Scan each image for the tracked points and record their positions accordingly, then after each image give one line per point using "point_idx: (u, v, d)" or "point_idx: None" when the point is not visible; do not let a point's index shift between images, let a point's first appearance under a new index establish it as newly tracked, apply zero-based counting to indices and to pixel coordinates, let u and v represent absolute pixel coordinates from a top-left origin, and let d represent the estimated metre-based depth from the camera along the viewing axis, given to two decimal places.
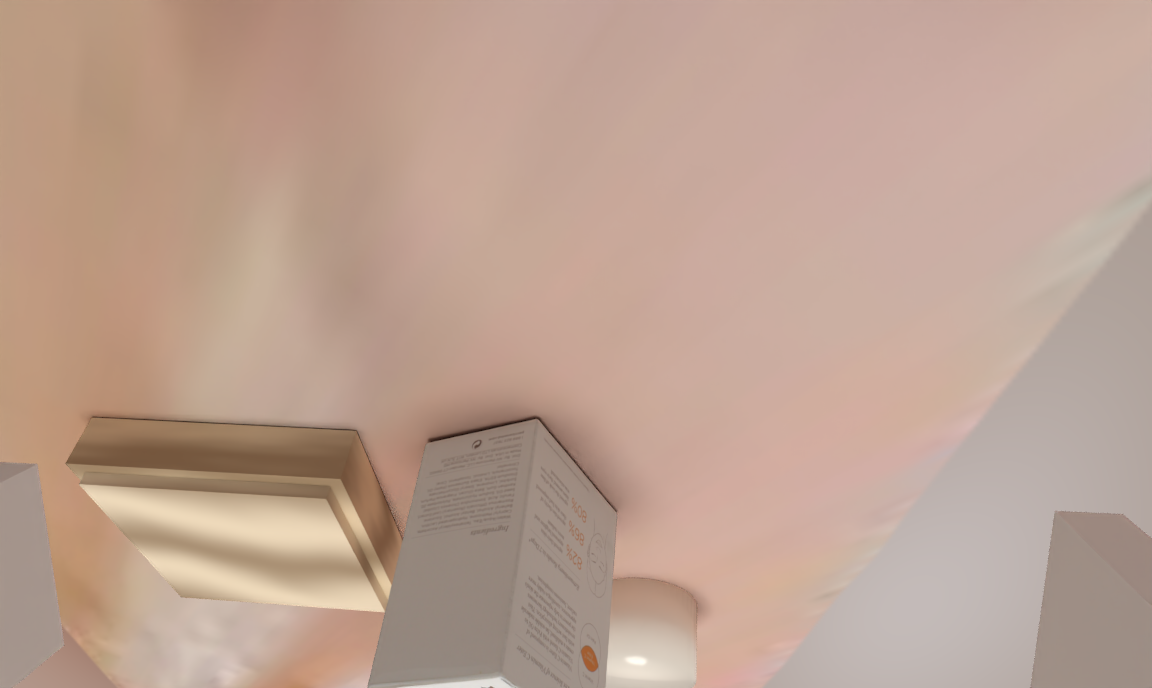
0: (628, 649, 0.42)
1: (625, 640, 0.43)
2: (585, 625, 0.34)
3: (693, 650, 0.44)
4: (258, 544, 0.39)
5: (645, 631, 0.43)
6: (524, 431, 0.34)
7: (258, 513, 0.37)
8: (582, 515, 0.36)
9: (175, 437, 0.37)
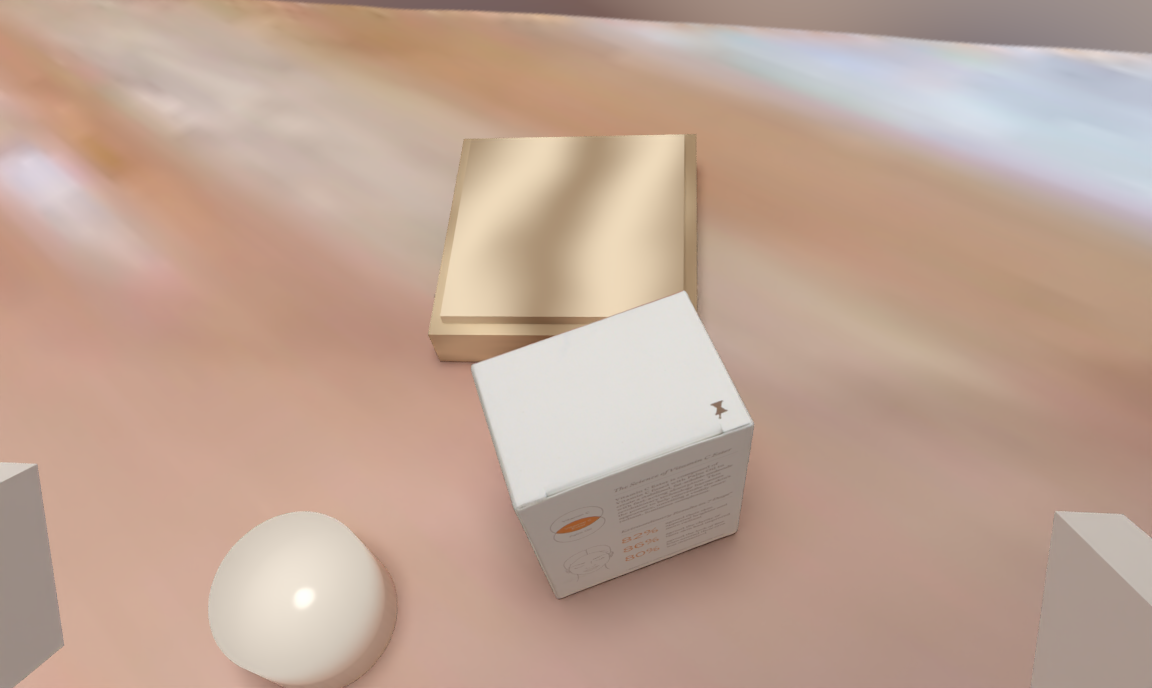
0: (368, 582, 0.32)
1: (372, 582, 0.33)
2: (597, 529, 0.30)
3: (309, 676, 0.32)
4: (588, 237, 0.40)
5: (372, 611, 0.33)
6: None
7: (649, 254, 0.40)
8: (633, 556, 0.33)
9: None
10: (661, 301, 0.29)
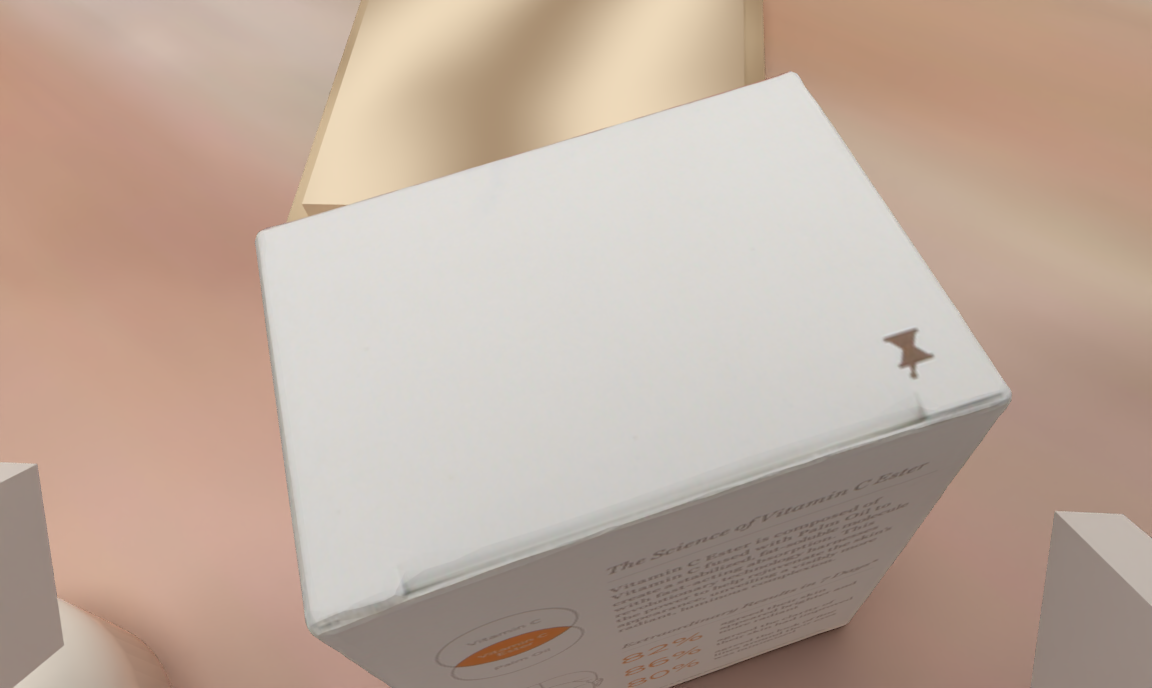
0: None
1: None
2: (563, 649, 0.12)
3: None
4: (575, 79, 0.23)
5: None
6: None
7: None
8: (644, 679, 0.16)
9: None
10: (737, 92, 0.12)
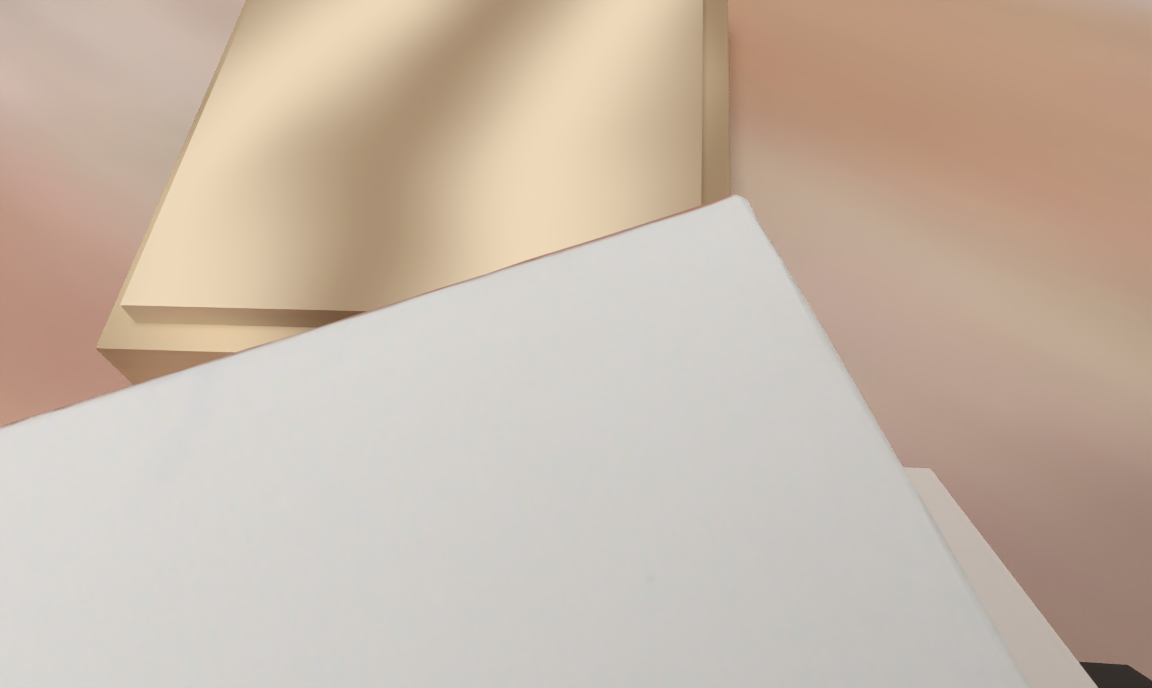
0: None
1: None
2: None
3: None
4: (486, 135, 0.18)
5: None
6: None
7: (621, 172, 0.17)
8: None
9: None
10: (641, 235, 0.07)
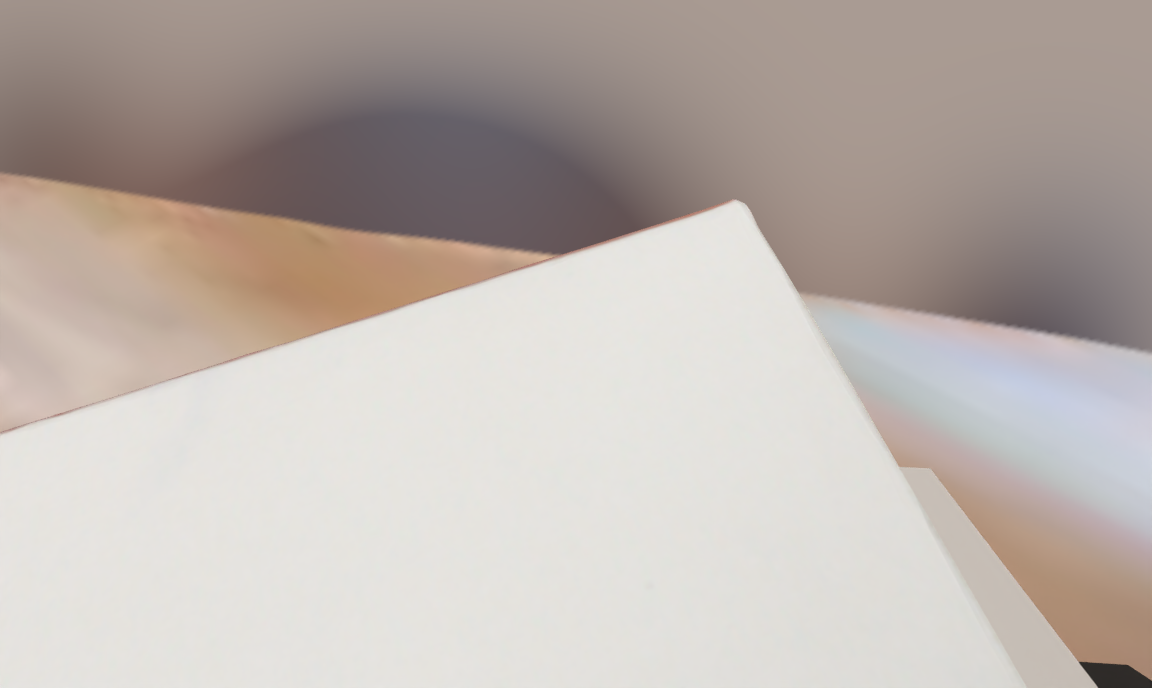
0: None
1: None
2: None
3: None
4: None
5: None
6: None
7: None
8: None
9: None
10: (640, 240, 0.07)
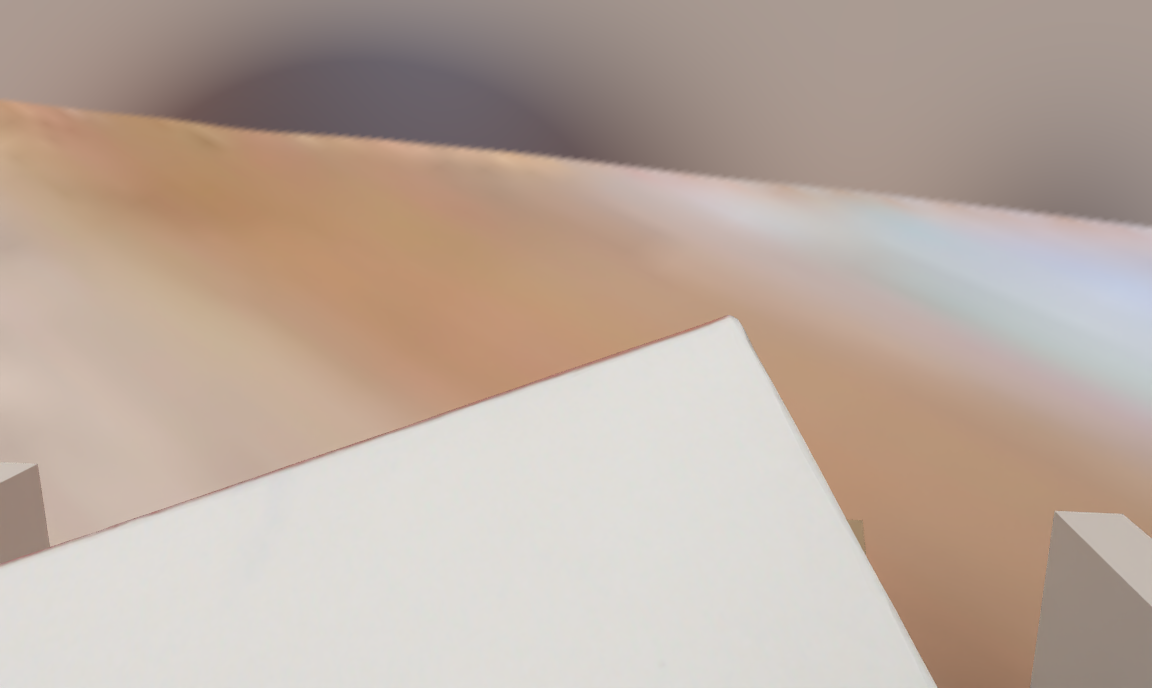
0: None
1: None
2: None
3: None
4: None
5: None
6: None
7: None
8: None
9: None
10: (648, 353, 0.08)
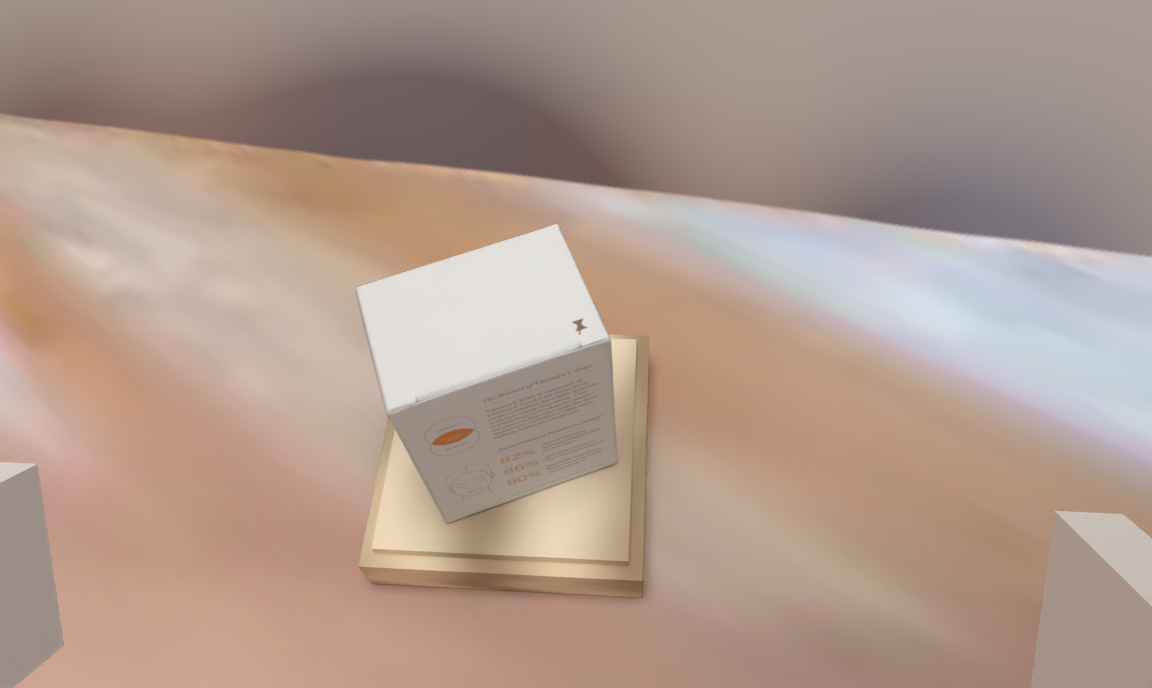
0: None
1: None
2: (473, 444, 0.32)
3: None
4: None
5: None
6: None
7: (595, 482, 0.38)
8: (514, 480, 0.36)
9: None
10: (535, 232, 0.32)
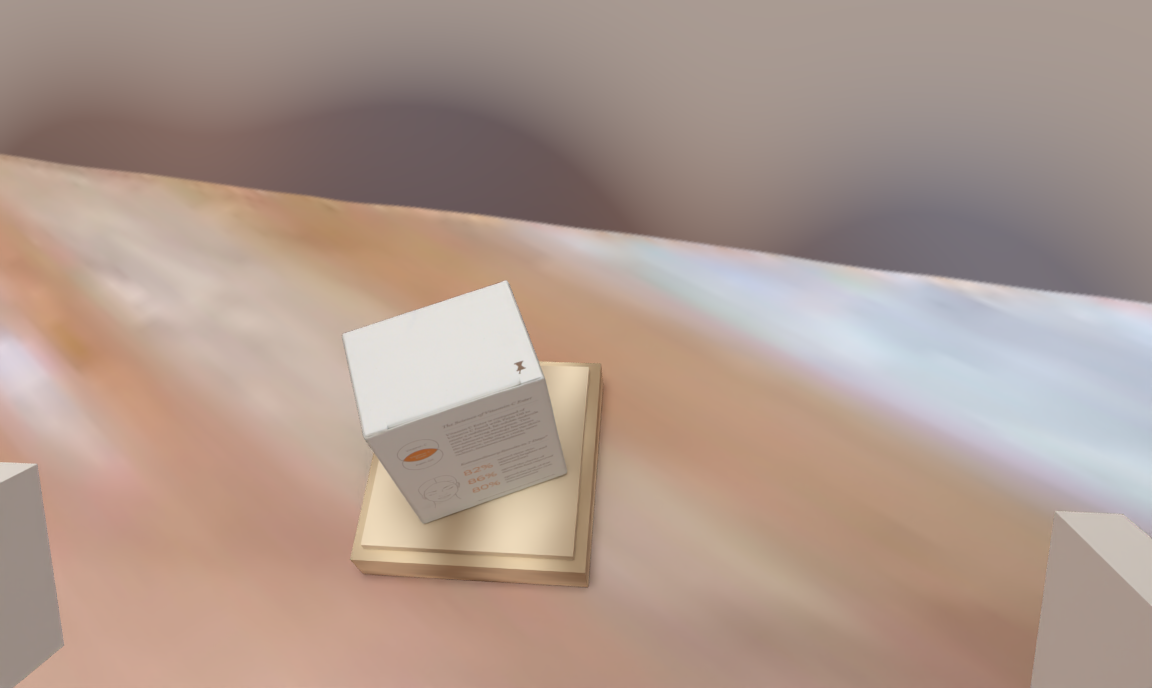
0: None
1: None
2: (438, 461, 0.39)
3: None
4: None
5: None
6: None
7: (548, 490, 0.45)
8: (478, 488, 0.43)
9: (597, 443, 0.48)
10: (488, 287, 0.39)
